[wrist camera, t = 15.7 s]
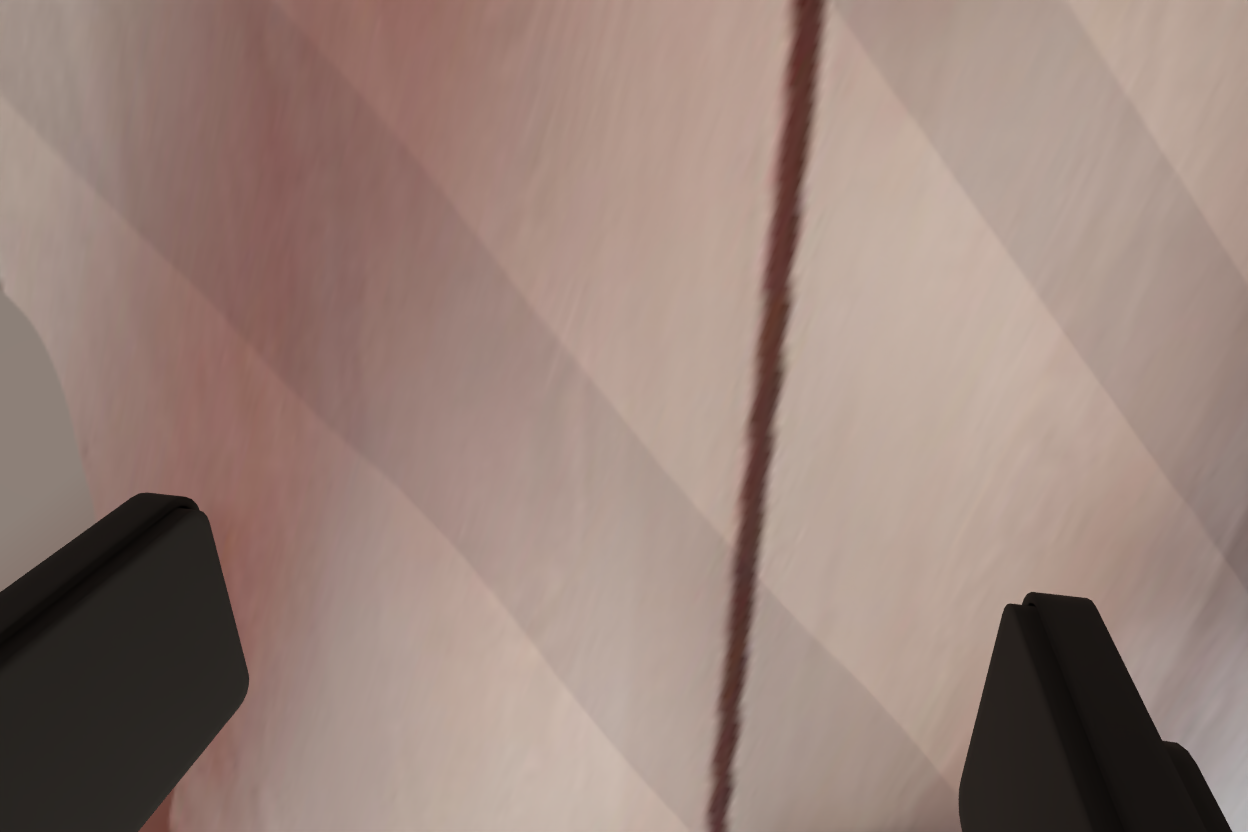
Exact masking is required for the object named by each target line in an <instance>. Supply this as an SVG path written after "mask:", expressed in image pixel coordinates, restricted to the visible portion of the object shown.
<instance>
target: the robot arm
mask: <svg viewBox="0 0 1248 832" xmlns="http://www.w3.org/2000/svg"><path fill="white" fill-rule="evenodd" d="M248 686H249V674H248V670H247V666H246V662H245V658H244V654H243V650H242V646H241V643H240V639H239V635H238V631H237V627H236V623H235V619H234V615H233V612H232V608H231V604H230V600H229V596H228V592H227V588H226V584H225V581H224V577H223V573H222V569H221V565H220V561H219V557H218V553H217V550H216V546H215V542H214V538H213V534H212V530H211V526H210V522H209V520H208V517H207V516H206V515H205V514H204V512H202V511H200V510H199V508H198V506H197V504H196V503H195V502H194V501H193V500H192V499H190V498H187V497H182V496H173V495H164V494H155V493H140V494H138V495H136V496H134V497H132V498H130V499H129V500H127V501H126V502H125V503H123V504H122V505H121V506H119V507H118V508H116V509H115V510H114V511H112V512H111V513H109V514H108V515H107V516H105V517H104V518H103V519H101V520H100V521H98V522H97V523H96V524H94V525H93V526H92V527H90V528H89V529H87V530H86V531H85V532H83V533H82V534H80V535H79V536H78V537H76V538H75V539H73V540H72V541H71V542H69V543H68V544H66V545H65V546H64V547H62V548H61V549H60V550H58V551H57V552H55V553H54V554H53V555H51V556H50V557H49V558H47V559H46V560H44V561H43V562H42V563H40V564H39V565H38V566H36V567H35V568H33V569H32V570H30V571H29V572H28V573H26V574H25V575H24V576H22V577H21V578H19V579H18V580H17V581H15V582H14V583H13V584H11V585H10V586H8V587H7V588H6V589H4V590H3V591H1V592H0V832H138V831H139V830H140V828H141V827H142V826H143V825H144V824H145V822H146V821H147V820H148V819H149V818H150V816H151V815H152V814H153V813H154V811H155V810H156V809H157V808H158V806H159V805H160V804H161V803H162V802H163V800H164V799H165V798H166V797H167V795H168V794H169V793H170V792H171V791H172V789H173V788H174V787H175V786H176V784H177V783H178V782H179V781H180V779H181V778H182V777H183V776H184V775H185V773H186V772H187V771H188V770H189V768H190V767H191V766H192V765H193V763H194V762H195V761H196V760H197V759H198V757H199V756H200V755H201V754H202V752H203V751H204V750H205V749H206V747H207V746H208V745H209V744H210V743H211V741H212V740H213V739H214V738H215V736H216V735H217V734H218V733H219V731H220V730H221V729H222V728H223V727H224V725H225V724H226V723H227V722H228V720H229V719H230V718H231V717H232V715H233V714H234V713H235V712H236V711H237V709H238V708H239V707H240V705H241V704H242V702H243V701H244V698H245V696H246V694H247V690H248ZM959 815H960V822H961V827H962V832H1232V830H1231V829H1230V827H1229V825H1228V823H1227V821H1226V819H1225V817H1224V815H1223V813H1222V811H1221V809H1220V808H1219V806H1218V804H1217V802H1216V800H1215V798H1214V796H1213V794H1212V792H1211V790H1210V788H1209V787H1208V785H1207V783H1206V781H1205V779H1204V777H1203V775H1202V773H1201V771H1200V769H1199V767H1198V766H1197V764H1196V762H1195V761H1194V760H1193V758H1192V757H1191V755H1190V754H1189V752H1188V751H1187V750H1186V749H1185V748H1183V747H1182V746H1181V745H1179V744H1178V743H1175V742H1167V741H1162V739H1161V737H1160V735H1159V733H1158V731H1157V729H1156V727H1155V725H1154V723H1153V721H1152V719H1151V717H1150V715H1149V713H1148V711H1147V709H1146V707H1145V705H1144V703H1143V701H1142V699H1141V697H1140V695H1139V693H1138V691H1137V689H1136V687H1135V685H1134V683H1133V681H1132V679H1131V677H1130V675H1129V673H1128V671H1127V668H1126V666H1125V664H1124V662H1123V660H1122V658H1121V656H1120V654H1119V652H1118V650H1117V648H1116V646H1115V644H1114V642H1113V640H1112V638H1111V636H1110V634H1109V632H1108V630H1107V628H1106V626H1105V624H1104V622H1103V620H1102V618H1101V616H1100V614H1099V612H1098V610H1097V608H1096V606H1095V605H1094V603H1093V602H1092V601H1091V600H1089V599H1087V598H1081V597H1072V596H1063V595H1054V594H1045V593H1036V592H1030V593H1028V594H1027V595H1026V597H1025V598H1024V600H1023V603H1022V605H1018V604H1007V605H1006V607H1005V608H1004V611H1003V614H1002V618H1001V622H1000V626H999V630H998V634H997V638H996V642H995V646H994V650H993V653H992V657H991V661H990V665H989V669H988V673H987V677H986V681H985V685H984V689H983V693H982V697H981V701H980V705H979V709H978V713H977V717H976V721H975V725H974V729H973V733H972V737H971V741H970V745H969V749H968V753H967V757H966V761H965V765H964V769H963V773H962V777H961V782H960V787H959Z"/></svg>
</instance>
